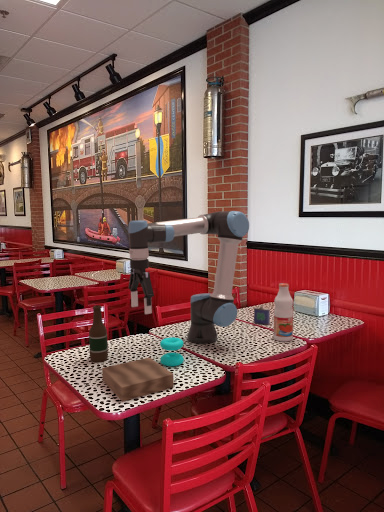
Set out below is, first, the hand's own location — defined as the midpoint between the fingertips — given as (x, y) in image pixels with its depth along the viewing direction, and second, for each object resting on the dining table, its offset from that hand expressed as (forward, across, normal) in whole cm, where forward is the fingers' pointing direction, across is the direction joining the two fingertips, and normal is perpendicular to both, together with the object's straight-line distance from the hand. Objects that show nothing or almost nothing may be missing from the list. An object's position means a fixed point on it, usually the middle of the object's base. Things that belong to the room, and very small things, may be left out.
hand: (141, 310), depth 161 cm
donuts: (+24, +3, +12) cm, 27 cm away
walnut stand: (+24, +15, -9) cm, 29 cm away
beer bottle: (+24, -17, -14) cm, 33 cm away
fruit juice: (+26, +6, +74) cm, 78 cm away
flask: (+26, -21, +82) cm, 89 cm away
